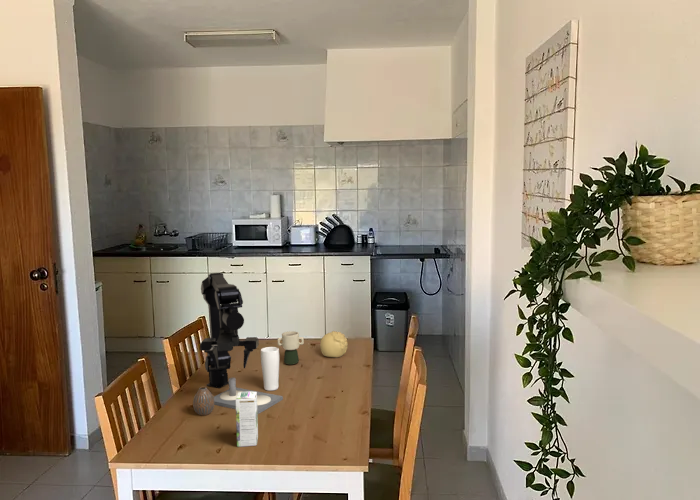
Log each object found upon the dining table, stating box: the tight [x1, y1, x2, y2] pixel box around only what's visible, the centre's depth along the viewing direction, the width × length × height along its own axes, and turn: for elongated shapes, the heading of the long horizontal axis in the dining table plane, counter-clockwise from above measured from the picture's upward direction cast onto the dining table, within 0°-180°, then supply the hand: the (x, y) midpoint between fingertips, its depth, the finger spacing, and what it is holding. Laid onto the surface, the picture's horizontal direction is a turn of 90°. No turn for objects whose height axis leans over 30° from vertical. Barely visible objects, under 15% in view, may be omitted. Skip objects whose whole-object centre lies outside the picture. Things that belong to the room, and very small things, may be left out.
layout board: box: [213, 377, 284, 415], centre depth 200 cm, size 22×14×7 cm, turn 62°
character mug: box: [277, 330, 305, 365], centre depth 240 cm, size 11×7×13 cm, turn 95°
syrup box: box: [235, 391, 259, 448], centre depth 167 cm, size 6×6×14 cm
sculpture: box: [319, 330, 349, 358], centre depth 250 cm, size 12×12×11 cm
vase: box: [192, 386, 215, 416], centre depth 190 cm, size 7×7×9 cm
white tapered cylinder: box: [260, 346, 280, 392], centre depth 211 cm, size 7×7×15 cm
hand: (231, 368), depth 194 cm, fingers open, 9 cm apart
